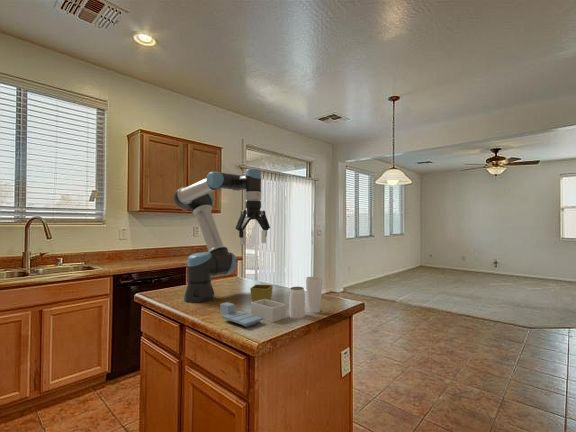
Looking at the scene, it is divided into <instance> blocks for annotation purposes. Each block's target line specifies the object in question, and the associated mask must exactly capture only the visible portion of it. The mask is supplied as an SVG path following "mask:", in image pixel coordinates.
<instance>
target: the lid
mask: <svg viewBox="0 0 576 432" xmlns="http://www.w3.org/2000/svg"><path fill="white" fill-rule="evenodd" d="M219 305H220V307H219V308H220V309H219V311H220V315H222V316H221V318H222V319H224V320H228V322H233V323H236V324H239V325H241V326H244V327H245V328H248V327H251V326H254V325H257V323H258V322H261V321H264V320H263V318H262V317H259V316H255V315H252V314H251V313H248V312H244V311H241V310H239V311H235V308H236V307H235V306H236V305H235V304H234V303H232V302H228V301H227V302H223V303H220V304H219Z"/></svg>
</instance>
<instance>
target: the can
mask: <svg viewBox="0 0 576 432" xmlns="http://www.w3.org/2000/svg"><path fill="white" fill-rule="evenodd" d="M304 288H305V287H303V286H292V287H290V289H289V298H288V299H289V302H288V303H289V317H290V318H293V319H302V318H305V317H306V291H305V289H304Z"/></svg>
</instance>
